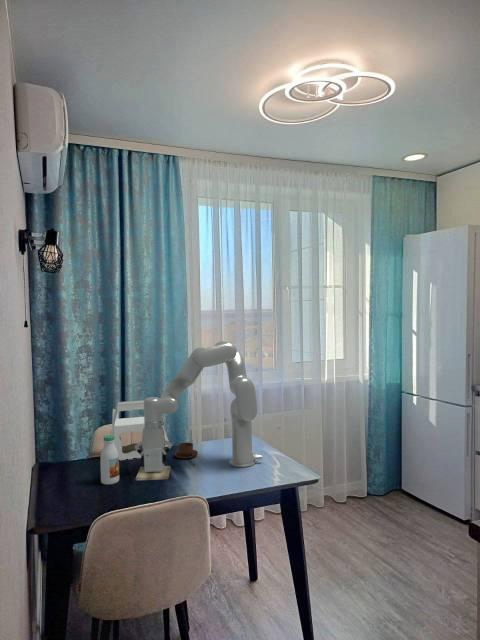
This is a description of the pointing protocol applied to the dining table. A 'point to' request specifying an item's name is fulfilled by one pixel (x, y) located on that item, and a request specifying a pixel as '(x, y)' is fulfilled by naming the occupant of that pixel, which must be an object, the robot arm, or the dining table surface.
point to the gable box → (127, 428)
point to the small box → (153, 460)
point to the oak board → (153, 474)
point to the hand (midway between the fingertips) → (154, 462)
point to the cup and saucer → (185, 451)
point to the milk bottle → (109, 461)
